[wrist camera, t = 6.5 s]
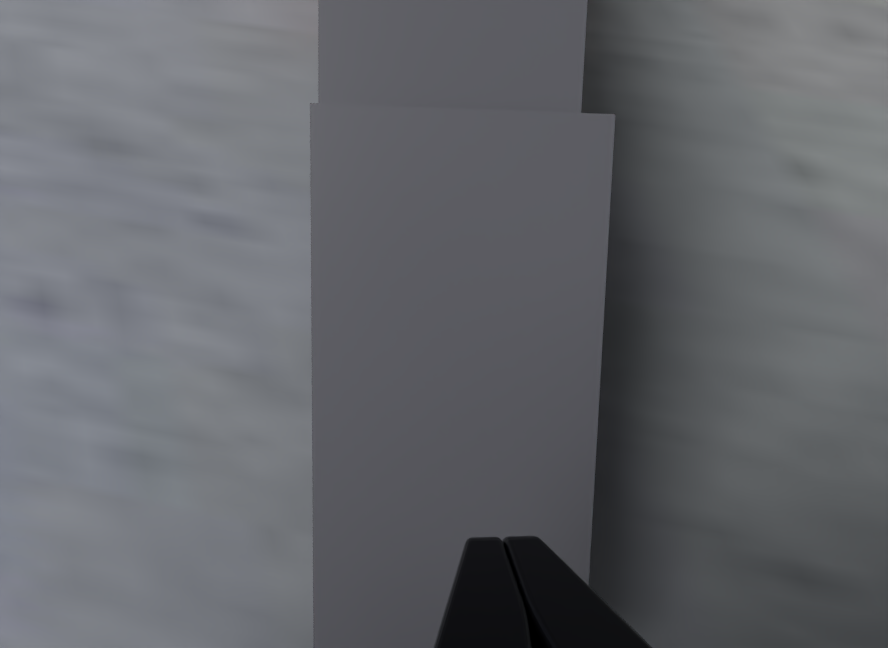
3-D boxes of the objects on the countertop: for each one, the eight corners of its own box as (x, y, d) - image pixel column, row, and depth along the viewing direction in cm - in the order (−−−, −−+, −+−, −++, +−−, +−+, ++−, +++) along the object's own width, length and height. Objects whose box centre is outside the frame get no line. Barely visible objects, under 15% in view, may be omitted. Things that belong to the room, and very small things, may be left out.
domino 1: (562, 452, 15) (591, -63, 14) (318, 454, 15) (318, -83, 13) (539, 423, 17) (562, -30, 15) (324, 424, 17) (324, -45, 15)
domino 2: (584, 665, 14) (615, 114, 12) (314, 676, 13) (310, 103, 12) (557, 607, 16) (581, 127, 14) (321, 615, 15) (319, 118, 14)
